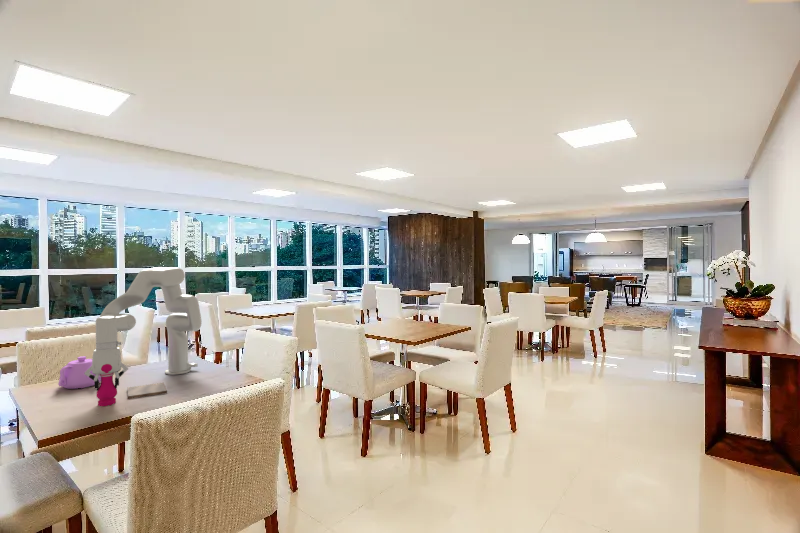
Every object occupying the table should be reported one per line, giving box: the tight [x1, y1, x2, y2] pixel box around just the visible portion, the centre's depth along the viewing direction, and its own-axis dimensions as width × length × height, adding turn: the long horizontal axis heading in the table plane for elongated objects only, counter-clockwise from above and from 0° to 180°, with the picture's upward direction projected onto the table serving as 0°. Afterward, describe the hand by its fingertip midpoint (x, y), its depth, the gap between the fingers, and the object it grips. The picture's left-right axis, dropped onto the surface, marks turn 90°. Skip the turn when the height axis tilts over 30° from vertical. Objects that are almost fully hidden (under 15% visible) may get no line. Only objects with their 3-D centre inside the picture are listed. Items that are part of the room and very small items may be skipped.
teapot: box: [57, 355, 101, 390], centre depth 205 cm, size 22×22×14 cm
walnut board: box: [127, 382, 168, 400], centre depth 196 cm, size 15×15×1 cm
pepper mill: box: [95, 364, 118, 407], centre depth 180 cm, size 7×7×20 cm
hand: (106, 388), depth 180 cm, fingers closed on pepper mill, 5 cm apart
